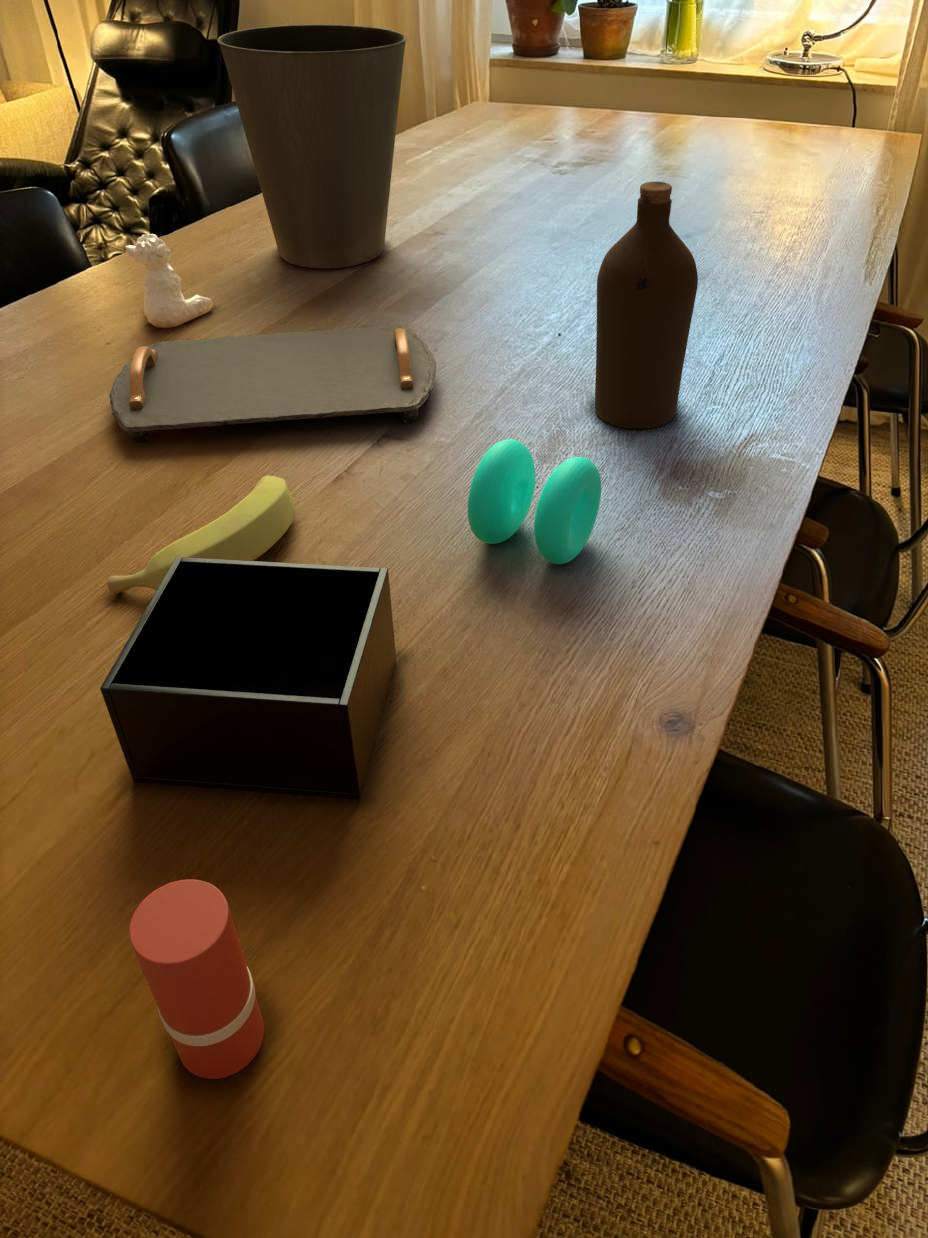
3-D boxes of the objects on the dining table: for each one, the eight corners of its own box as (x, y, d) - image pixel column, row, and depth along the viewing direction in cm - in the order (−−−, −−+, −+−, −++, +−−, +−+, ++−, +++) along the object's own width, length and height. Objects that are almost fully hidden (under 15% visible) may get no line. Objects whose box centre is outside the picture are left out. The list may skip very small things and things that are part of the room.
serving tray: (101, 454, 111) (86, 404, 107) (131, 363, 128) (119, 317, 124) (446, 427, 114) (444, 377, 110) (428, 342, 131) (426, 296, 127)
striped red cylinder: (163, 1076, 56) (110, 961, 49) (193, 992, 60) (148, 873, 53) (251, 1086, 56) (212, 971, 48) (276, 1000, 60) (243, 881, 52)
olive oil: (696, 424, 113) (728, 195, 97) (609, 439, 111) (627, 207, 95) (658, 384, 121) (682, 165, 105) (576, 396, 119) (587, 176, 103)
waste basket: (430, 231, 164) (420, 23, 145) (402, 278, 149) (388, 51, 130) (274, 226, 168) (244, 22, 149) (231, 270, 153) (193, 49, 134)
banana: (313, 484, 91) (107, 580, 85) (333, 537, 94) (134, 634, 87) (265, 456, 102) (79, 539, 96) (284, 503, 105) (104, 587, 98)
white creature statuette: (215, 308, 142) (199, 222, 134) (192, 333, 135) (174, 244, 128) (153, 305, 143) (133, 220, 135) (127, 330, 137) (105, 242, 129)
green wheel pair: (559, 588, 90) (563, 495, 84) (463, 558, 94) (460, 467, 88) (602, 532, 97) (609, 442, 90) (511, 506, 101) (511, 418, 94)
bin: (133, 782, 74) (99, 688, 67) (199, 646, 85) (175, 556, 79) (360, 800, 72) (347, 705, 66) (396, 659, 83) (388, 567, 77)
